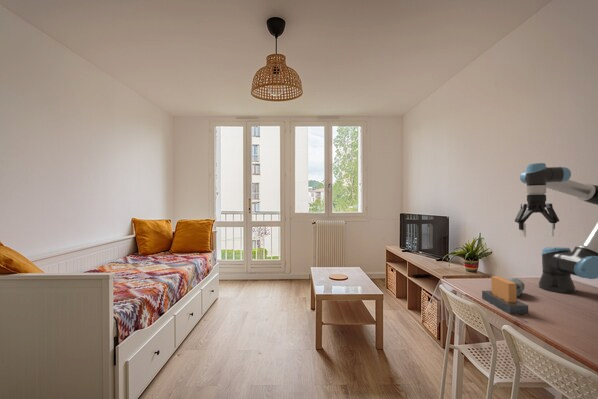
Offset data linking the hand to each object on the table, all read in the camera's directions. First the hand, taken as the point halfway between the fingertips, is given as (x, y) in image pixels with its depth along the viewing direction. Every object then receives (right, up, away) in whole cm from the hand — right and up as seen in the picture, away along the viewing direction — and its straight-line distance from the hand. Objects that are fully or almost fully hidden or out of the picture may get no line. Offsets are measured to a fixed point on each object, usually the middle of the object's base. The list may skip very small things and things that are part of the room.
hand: (536, 236), depth 143 cm
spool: (-6, -32, +7) cm, 33 cm away
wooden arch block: (-23, -32, -8) cm, 40 cm away
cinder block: (-23, -32, -8) cm, 40 cm away
